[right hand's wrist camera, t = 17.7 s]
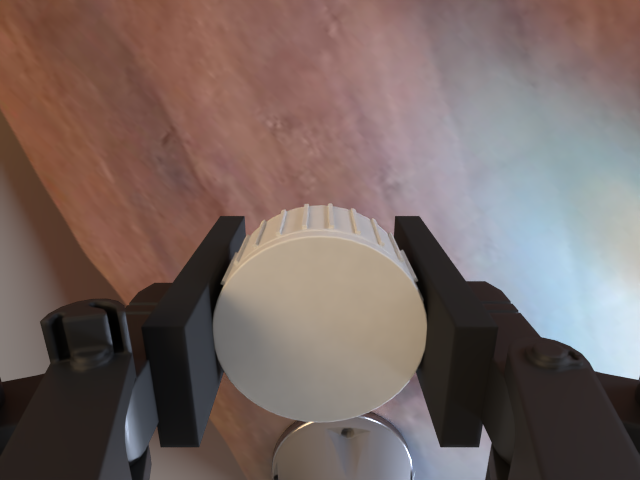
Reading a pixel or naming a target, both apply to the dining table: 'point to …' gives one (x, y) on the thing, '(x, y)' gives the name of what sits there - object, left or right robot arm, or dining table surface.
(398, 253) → the lid
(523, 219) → the dining table surface
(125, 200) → the dining table surface
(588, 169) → the dining table surface
